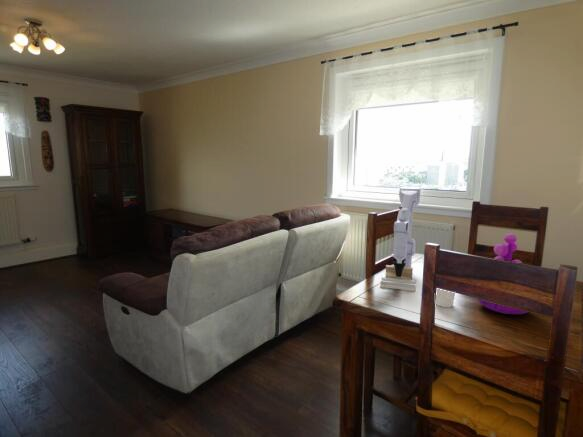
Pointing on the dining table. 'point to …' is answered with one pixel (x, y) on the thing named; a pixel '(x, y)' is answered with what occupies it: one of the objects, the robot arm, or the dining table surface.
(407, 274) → the tan rectangular block
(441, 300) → the white cup
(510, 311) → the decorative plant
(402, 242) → the robot arm
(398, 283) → the track board
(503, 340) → the dining table surface
